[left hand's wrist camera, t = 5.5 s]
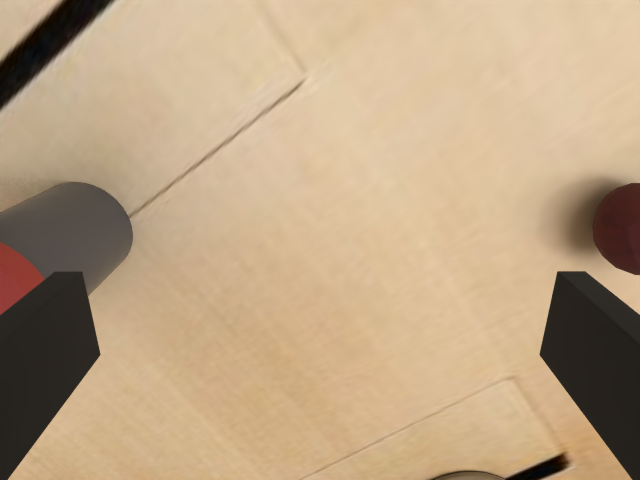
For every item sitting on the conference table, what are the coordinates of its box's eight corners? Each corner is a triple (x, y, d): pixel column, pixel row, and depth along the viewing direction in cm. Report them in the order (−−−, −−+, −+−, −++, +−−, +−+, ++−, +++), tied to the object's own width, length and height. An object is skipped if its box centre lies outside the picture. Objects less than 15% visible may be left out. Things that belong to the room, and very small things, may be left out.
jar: (121, 284, 44) (23, 395, 29) (28, 254, 43) (-123, 354, 28) (142, 202, 41) (44, 281, 26) (42, 167, 40) (-119, 230, 25)
